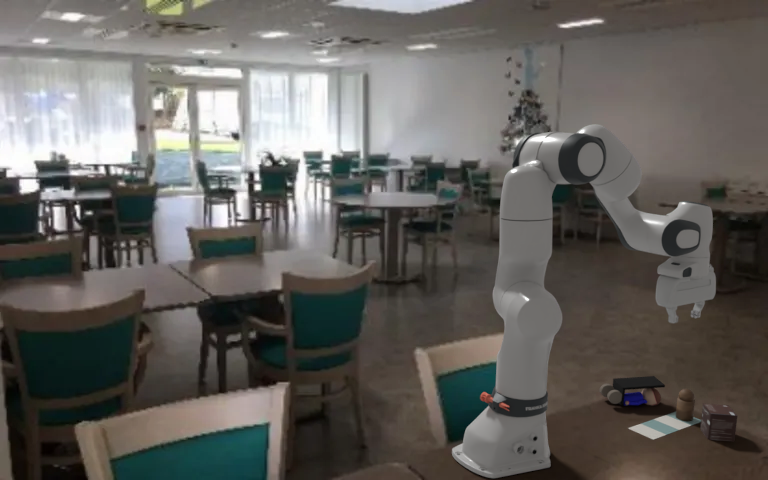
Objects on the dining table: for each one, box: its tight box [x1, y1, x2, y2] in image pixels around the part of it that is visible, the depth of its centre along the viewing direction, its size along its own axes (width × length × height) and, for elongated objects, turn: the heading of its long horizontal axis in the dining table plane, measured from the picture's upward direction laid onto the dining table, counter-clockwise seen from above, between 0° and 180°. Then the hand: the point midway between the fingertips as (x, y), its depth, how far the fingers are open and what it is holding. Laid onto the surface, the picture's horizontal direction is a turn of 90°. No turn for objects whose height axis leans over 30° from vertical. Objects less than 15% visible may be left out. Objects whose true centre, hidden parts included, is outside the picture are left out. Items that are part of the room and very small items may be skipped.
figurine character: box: [599, 375, 666, 407], centre depth 175 cm, size 7×8×15 cm
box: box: [699, 403, 738, 442], centre depth 157 cm, size 6×6×7 cm
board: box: [627, 411, 701, 440], centre depth 163 cm, size 20×7×1 cm, turn 123°
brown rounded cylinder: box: [675, 388, 696, 421], centre depth 166 cm, size 4×4×8 cm
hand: (684, 320), depth 168 cm, fingers open, 8 cm apart
